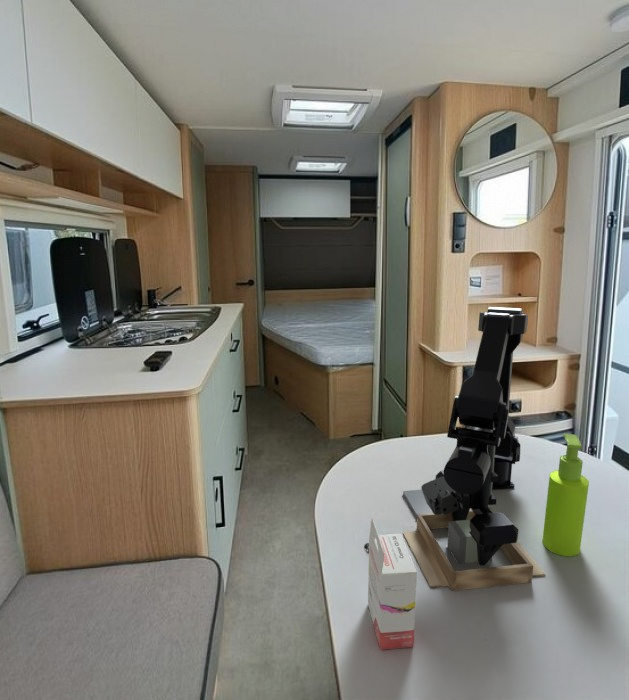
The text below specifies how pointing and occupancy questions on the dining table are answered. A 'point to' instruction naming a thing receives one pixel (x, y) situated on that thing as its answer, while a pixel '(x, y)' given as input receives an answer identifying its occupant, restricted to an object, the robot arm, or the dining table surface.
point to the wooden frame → (444, 574)
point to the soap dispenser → (566, 503)
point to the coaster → (417, 502)
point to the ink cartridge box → (391, 590)
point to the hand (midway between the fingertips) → (469, 547)
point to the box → (462, 542)
